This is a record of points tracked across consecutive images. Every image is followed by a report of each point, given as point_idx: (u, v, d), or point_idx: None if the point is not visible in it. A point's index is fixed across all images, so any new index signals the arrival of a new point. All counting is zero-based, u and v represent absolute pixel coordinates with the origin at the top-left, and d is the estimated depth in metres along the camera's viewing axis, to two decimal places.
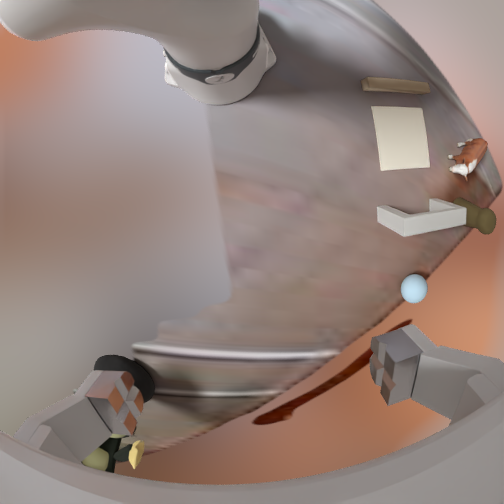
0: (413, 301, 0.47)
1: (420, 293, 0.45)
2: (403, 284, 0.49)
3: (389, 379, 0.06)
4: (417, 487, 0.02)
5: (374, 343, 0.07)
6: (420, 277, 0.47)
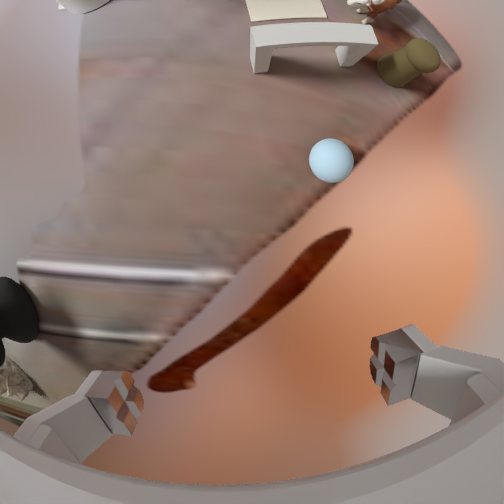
0: (328, 174, 0.32)
1: (335, 156, 0.30)
2: (310, 153, 0.34)
3: (389, 379, 0.06)
4: (417, 487, 0.02)
5: (374, 343, 0.07)
6: (335, 139, 0.32)
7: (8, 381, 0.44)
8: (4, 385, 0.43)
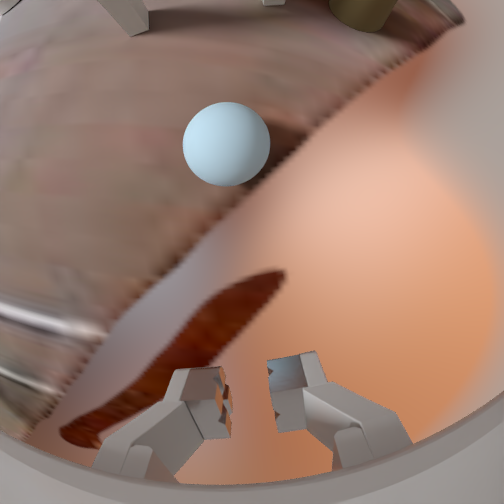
0: (206, 167, 0.16)
1: (216, 129, 0.15)
2: None
3: None
4: (417, 487, 0.02)
5: None
6: (231, 102, 0.16)
7: None
8: None
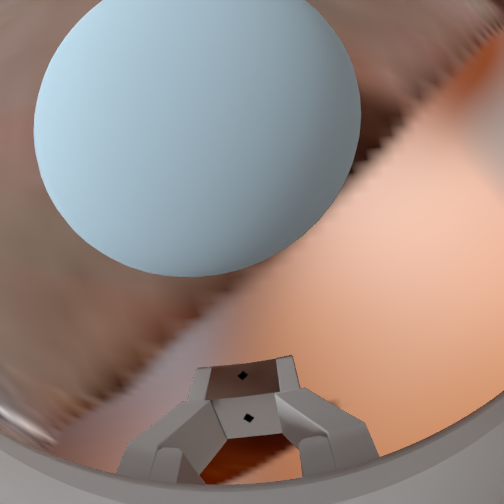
0: (86, 225, 0.03)
1: (109, 23, 0.02)
2: None
3: None
4: (417, 487, 0.02)
5: None
6: None
7: None
8: None
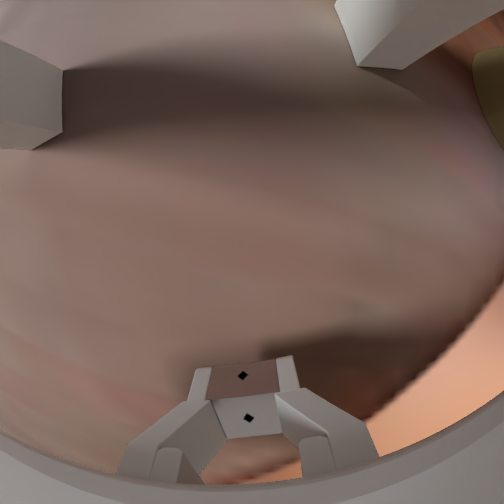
0: None
1: None
2: None
3: None
4: (417, 487, 0.02)
5: None
6: None
7: None
8: None
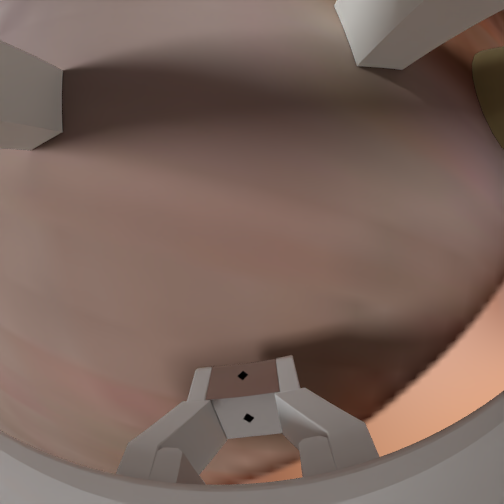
0: None
1: None
2: None
3: None
4: (417, 487, 0.02)
5: None
6: None
7: None
8: None
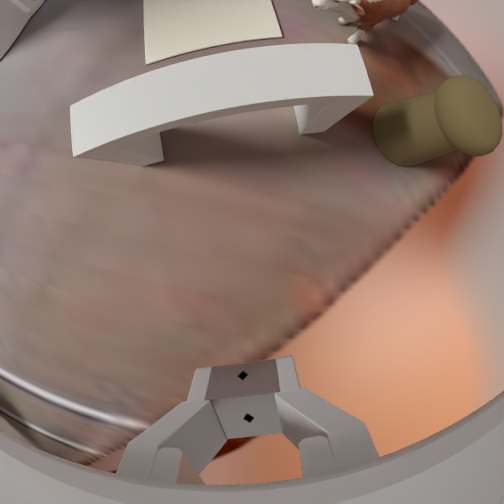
0: None
1: None
2: None
3: None
4: (417, 487, 0.02)
5: None
6: None
7: None
8: None
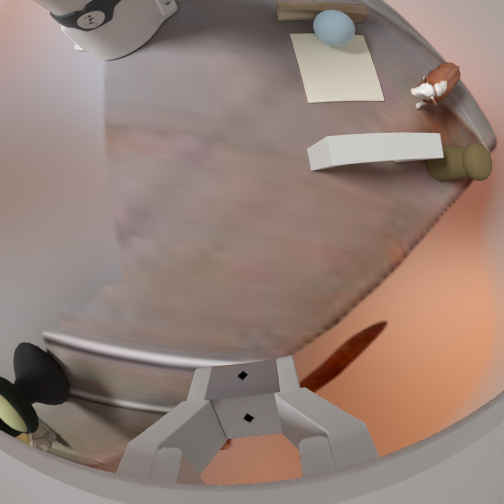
0: (330, 41, 0.27)
1: (340, 31, 0.25)
2: (315, 18, 0.26)
3: None
4: (417, 487, 0.02)
5: None
6: (342, 13, 0.23)
7: (32, 434, 0.42)
8: None
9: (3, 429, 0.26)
